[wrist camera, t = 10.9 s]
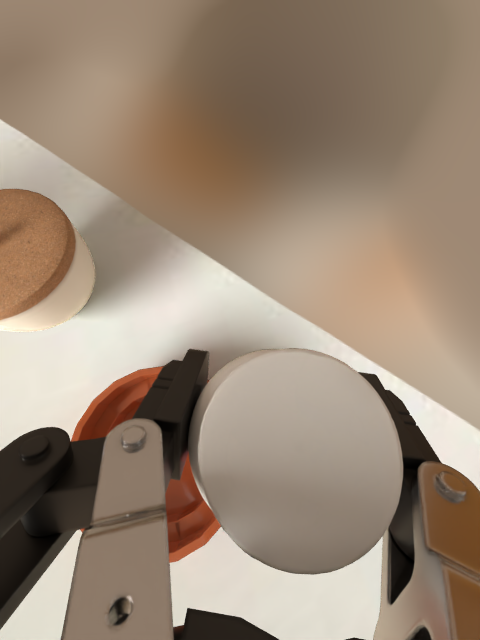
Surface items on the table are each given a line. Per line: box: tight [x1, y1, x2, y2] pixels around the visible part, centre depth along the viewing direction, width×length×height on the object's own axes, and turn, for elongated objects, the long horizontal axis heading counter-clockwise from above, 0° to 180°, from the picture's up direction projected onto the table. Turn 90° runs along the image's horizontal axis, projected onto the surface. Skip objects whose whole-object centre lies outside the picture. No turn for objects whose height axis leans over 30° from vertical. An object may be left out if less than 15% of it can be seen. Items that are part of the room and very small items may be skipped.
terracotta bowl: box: [71, 366, 221, 563], centre depth 24 cm, size 14×14×4 cm
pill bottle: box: [188, 348, 403, 574], centre depth 9 cm, size 5×5×9 cm
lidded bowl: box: [0, 189, 95, 332], centre depth 26 cm, size 13×13×11 cm
